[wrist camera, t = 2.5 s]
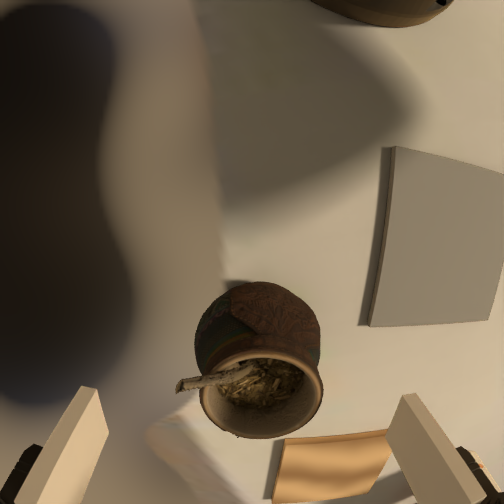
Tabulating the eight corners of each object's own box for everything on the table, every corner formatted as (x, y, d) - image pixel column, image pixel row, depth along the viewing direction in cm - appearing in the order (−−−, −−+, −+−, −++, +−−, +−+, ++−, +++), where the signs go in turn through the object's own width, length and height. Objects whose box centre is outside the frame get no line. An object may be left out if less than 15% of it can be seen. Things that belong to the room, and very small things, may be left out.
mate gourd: (275, 380, 22) (290, 493, 12) (179, 338, 21) (141, 447, 11) (331, 301, 20) (389, 399, 11) (227, 247, 19) (210, 326, 10)
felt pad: (391, 146, 18) (396, 146, 17) (510, 177, 18) (515, 178, 18) (366, 323, 21) (369, 327, 20) (484, 317, 21) (487, 320, 21)
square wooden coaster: (284, 438, 24) (285, 445, 23) (398, 427, 24) (401, 432, 23) (271, 498, 26) (271, 503, 26) (365, 488, 27) (367, 493, 26)
